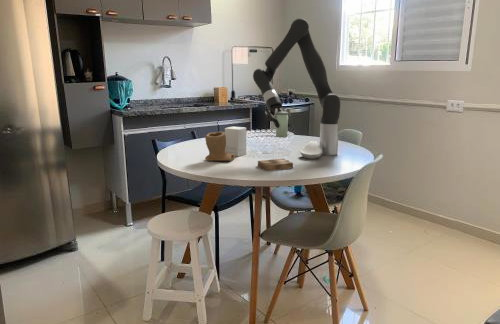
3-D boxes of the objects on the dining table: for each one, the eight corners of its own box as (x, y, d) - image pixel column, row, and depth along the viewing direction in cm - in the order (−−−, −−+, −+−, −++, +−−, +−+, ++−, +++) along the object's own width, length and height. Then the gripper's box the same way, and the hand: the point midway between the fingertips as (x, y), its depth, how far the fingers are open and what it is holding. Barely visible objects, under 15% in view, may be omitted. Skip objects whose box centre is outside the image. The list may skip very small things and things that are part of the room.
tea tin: (284, 135, 195) (284, 111, 192) (289, 136, 190) (290, 112, 187) (273, 135, 193) (274, 111, 190) (279, 137, 188) (279, 113, 185)
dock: (283, 163, 190) (283, 158, 189) (292, 167, 181) (293, 162, 181) (257, 165, 185) (257, 160, 184) (266, 170, 176) (266, 165, 175)
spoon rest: (320, 161, 196) (321, 147, 194) (298, 159, 199) (298, 146, 197) (323, 151, 218) (324, 139, 216) (303, 150, 221) (304, 138, 219)
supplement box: (247, 153, 211) (247, 127, 208) (238, 156, 204) (238, 129, 200) (233, 152, 216) (233, 125, 212) (224, 154, 208) (224, 128, 205)
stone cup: (202, 163, 190) (201, 133, 186) (207, 157, 201) (207, 129, 198) (232, 164, 188) (232, 134, 185) (236, 158, 200) (235, 130, 196)
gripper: (262, 96, 190) (274, 122, 183) (287, 95, 196) (299, 121, 189) (257, 105, 196) (268, 132, 188) (281, 104, 202) (292, 130, 195)
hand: (283, 126), depth 189 cm, fingers closed on tea tin, 5 cm apart
